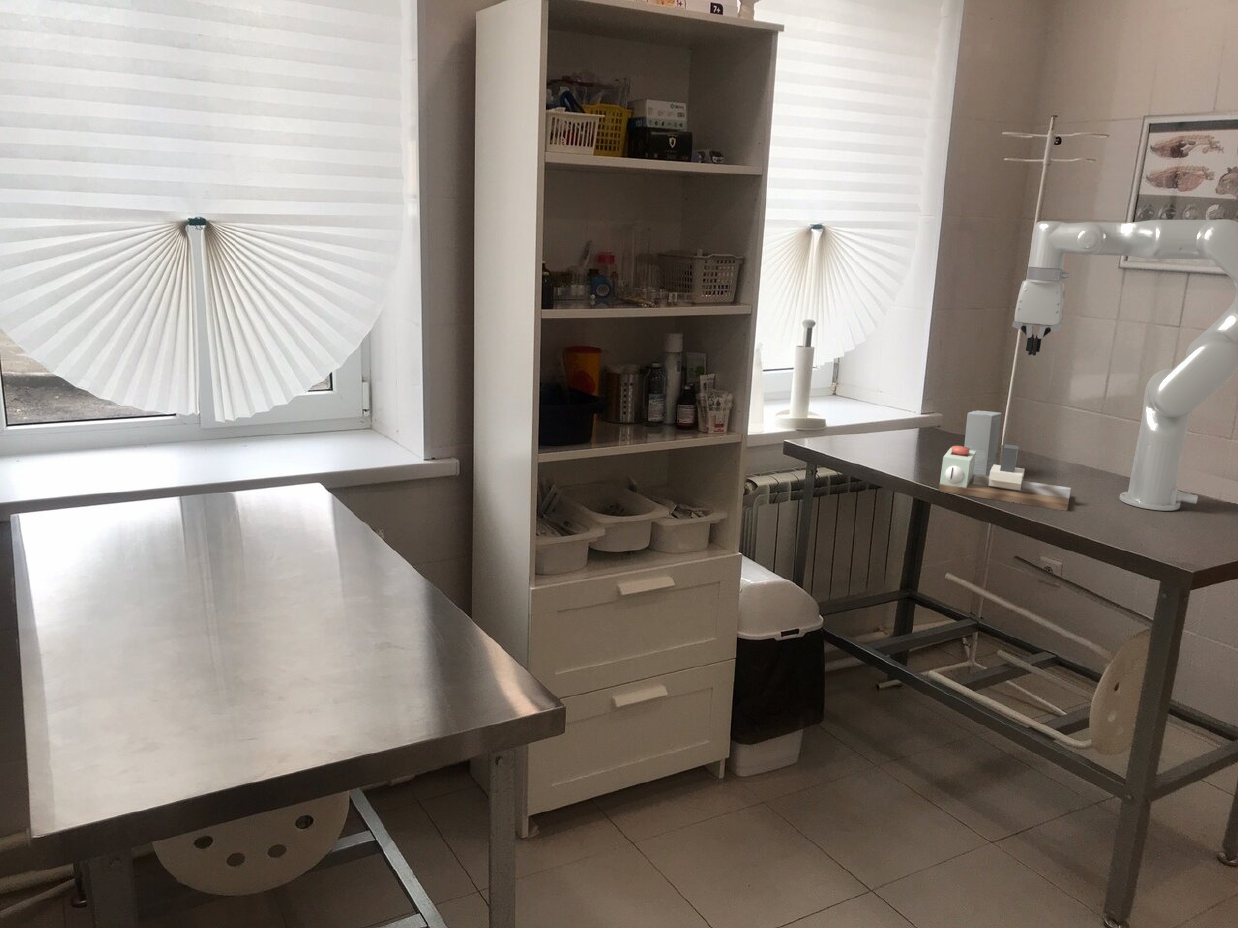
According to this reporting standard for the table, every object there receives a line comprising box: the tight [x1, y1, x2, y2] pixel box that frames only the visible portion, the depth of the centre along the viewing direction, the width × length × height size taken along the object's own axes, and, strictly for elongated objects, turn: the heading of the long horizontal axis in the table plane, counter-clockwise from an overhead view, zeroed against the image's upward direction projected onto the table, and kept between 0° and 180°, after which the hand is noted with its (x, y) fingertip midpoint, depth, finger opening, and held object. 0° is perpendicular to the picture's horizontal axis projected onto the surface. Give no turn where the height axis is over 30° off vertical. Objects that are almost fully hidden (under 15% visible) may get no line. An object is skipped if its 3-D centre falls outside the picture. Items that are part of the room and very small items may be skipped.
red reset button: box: [951, 445, 970, 457], centre depth 236 cm, size 4×4×3 cm
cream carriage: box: [988, 443, 1025, 490], centre depth 232 cm, size 7×8×9 cm
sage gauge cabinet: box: [939, 447, 976, 488], centre depth 237 cm, size 6×12×6 cm, turn 154°
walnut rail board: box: [937, 474, 1072, 512], centre depth 233 cm, size 28×14×4 cm, turn 64°
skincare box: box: [964, 409, 1003, 476], centre depth 251 cm, size 8×7×16 cm
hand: (1032, 354), depth 234 cm, fingers closed
